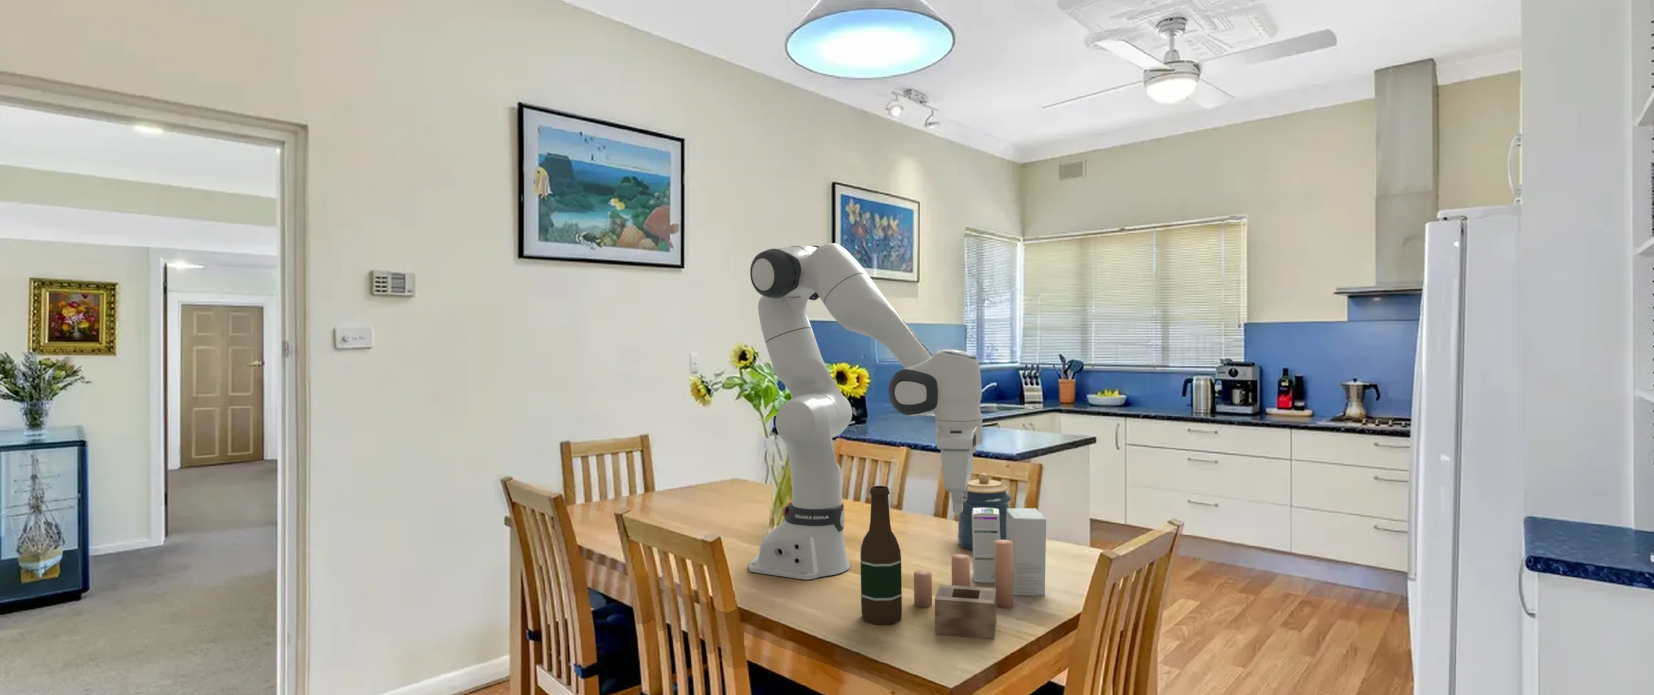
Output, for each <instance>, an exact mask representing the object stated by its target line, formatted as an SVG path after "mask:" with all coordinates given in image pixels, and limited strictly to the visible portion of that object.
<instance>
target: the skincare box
mask: <svg viewBox="0 0 1654 695" xmlns="http://www.w3.org/2000/svg"><path fill="white" fill-rule="evenodd" d="M1006 540H1009V541H1012V542H1013V597H1014V596H1015V597H1016V596H1018V597H1019V596H1020V597H1021V596H1027V597H1028V596H1029V597H1030V596H1034V597H1035V596H1036V597H1037V596H1038V597H1039V596H1043V597H1044V596H1045V595H1046V560H1047V559H1046V557H1047V556H1046V549H1047V548H1046V546H1047V544H1046V543H1047V519H1046V517H1045V516H1044V515H1043V513H1042V512H1040V511H1039V510H1038V508H1035V507H1034V508H1031V507H1030V508H1025V507H1023V508H1019V507H1018V508H1016V507H1015V508H1010V507H1009V509H1007V519H1006Z"/></svg>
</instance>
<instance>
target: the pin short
mask: <svg viewBox="0 0 1654 695" xmlns="http://www.w3.org/2000/svg"><path fill="white" fill-rule="evenodd" d="M932 577H933V574H932V572H931V571H929V570H924V569H923V570H922V569H921V570H916V571H915V570H914V572H913V602H914V603H913V604H914V606H915V607H919V608H929V607H932V606H933V578H932Z"/></svg>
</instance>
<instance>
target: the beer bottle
mask: <svg viewBox="0 0 1654 695" xmlns="http://www.w3.org/2000/svg"><path fill="white" fill-rule="evenodd" d="M869 494H870V495H871V497H870V498H871V500H870V519H869V520H870V521H869V526H868V527H869V528H868V531H867V532H866V534H865V535H864V537H863V539H862V542H861V546H860V555H859V556H860V606H861V608H860V609H861V616H862V621H863V622H865V623H869V624H871V625H874V626H888V625H889V626H890V625H891V626H892V625H894V624H896V623H897V622H899V621H901V620H902V618H903V617H902V616H903V614H902V613H903V612H902V610H903V605H902V604H903V601H902V600H903V594H902V593H903V592H902V591H903V590H902V589H903V588H902V587H903V586H902V583H903V582H902V553H901V548H900V545H899V542H898V540H897V537H896V535H895V534H894V533H893V531H892V527H891V518H890V516H891V515H890V501H889V495H890V494H891V493H890V489H889V487H888V486H886V485H874V486H871V487H870V490H869Z"/></svg>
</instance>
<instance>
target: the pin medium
mask: <svg viewBox="0 0 1654 695" xmlns="http://www.w3.org/2000/svg"><path fill="white" fill-rule="evenodd" d="M950 558H951V585H956V586H970V587H971V583H970V581H971V577H970V576H971V574H970V570H971V569H970V567H971V566H970V565H971V564H970V555H967V554H961V553H958V554H957V553H955V554H953V555H951V557H950Z"/></svg>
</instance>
